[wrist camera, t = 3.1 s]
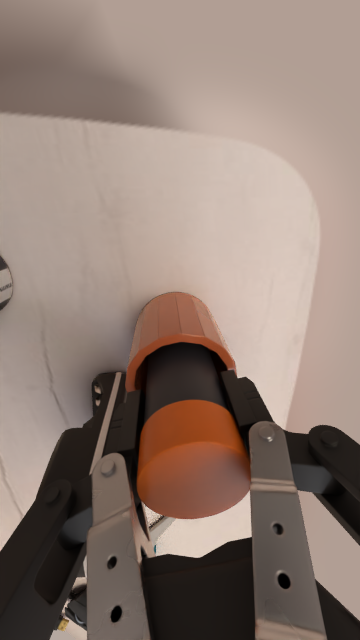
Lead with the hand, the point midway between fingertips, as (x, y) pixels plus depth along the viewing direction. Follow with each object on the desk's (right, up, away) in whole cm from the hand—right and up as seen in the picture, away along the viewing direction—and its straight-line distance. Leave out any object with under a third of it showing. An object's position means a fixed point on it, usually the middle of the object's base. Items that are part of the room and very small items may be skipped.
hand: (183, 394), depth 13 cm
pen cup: (-1, +3, +7) cm, 8 cm away
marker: (-1, +3, +7) cm, 7 cm away
